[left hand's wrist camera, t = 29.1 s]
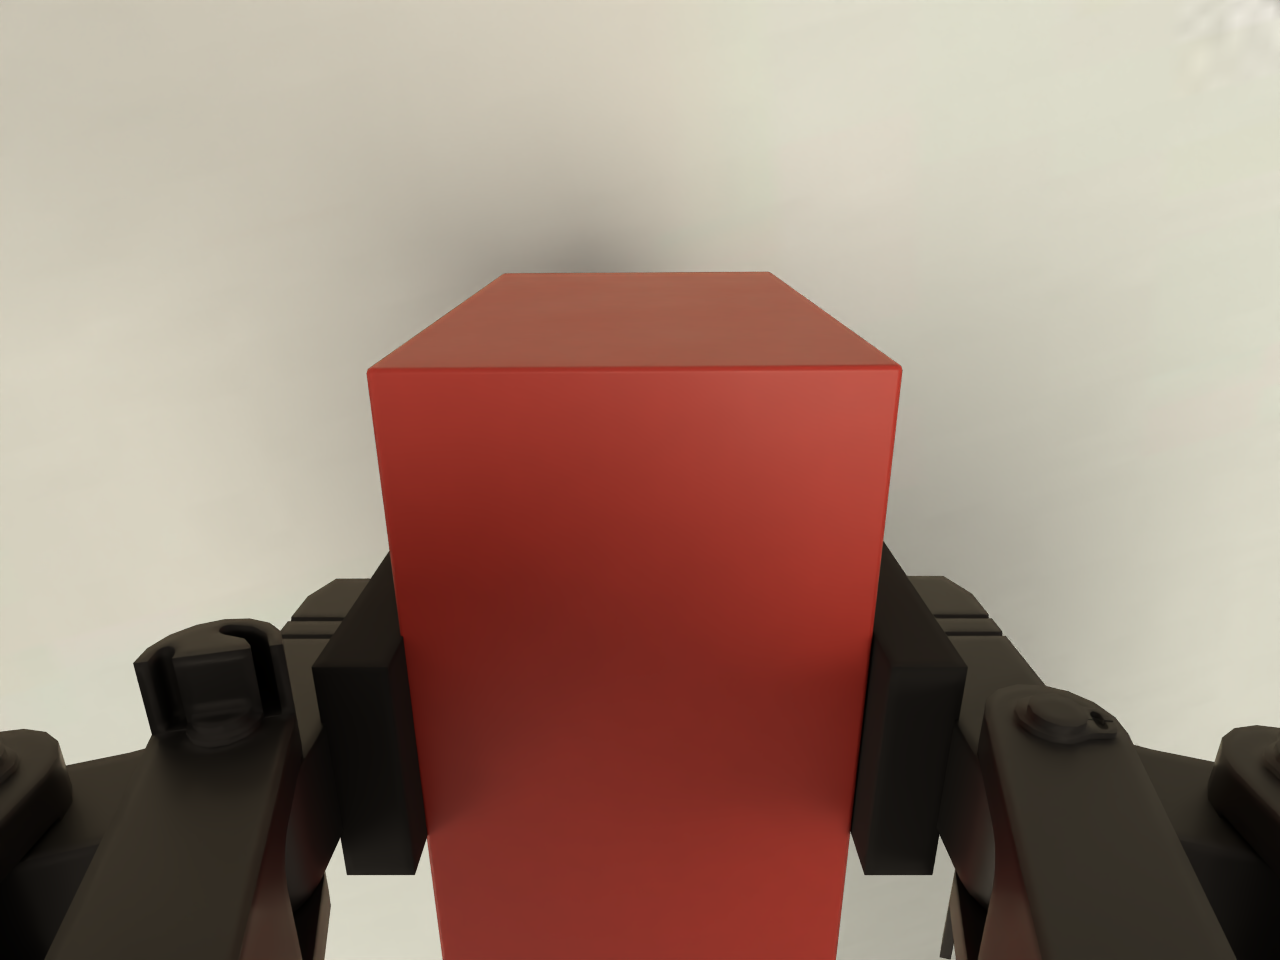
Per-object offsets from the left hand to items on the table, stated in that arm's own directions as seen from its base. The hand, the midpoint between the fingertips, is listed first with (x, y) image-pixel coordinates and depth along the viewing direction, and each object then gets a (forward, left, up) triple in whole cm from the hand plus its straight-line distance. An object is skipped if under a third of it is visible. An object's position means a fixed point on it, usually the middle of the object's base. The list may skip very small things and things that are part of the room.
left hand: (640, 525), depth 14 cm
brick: (0, 0, -2) cm, 2 cm away
